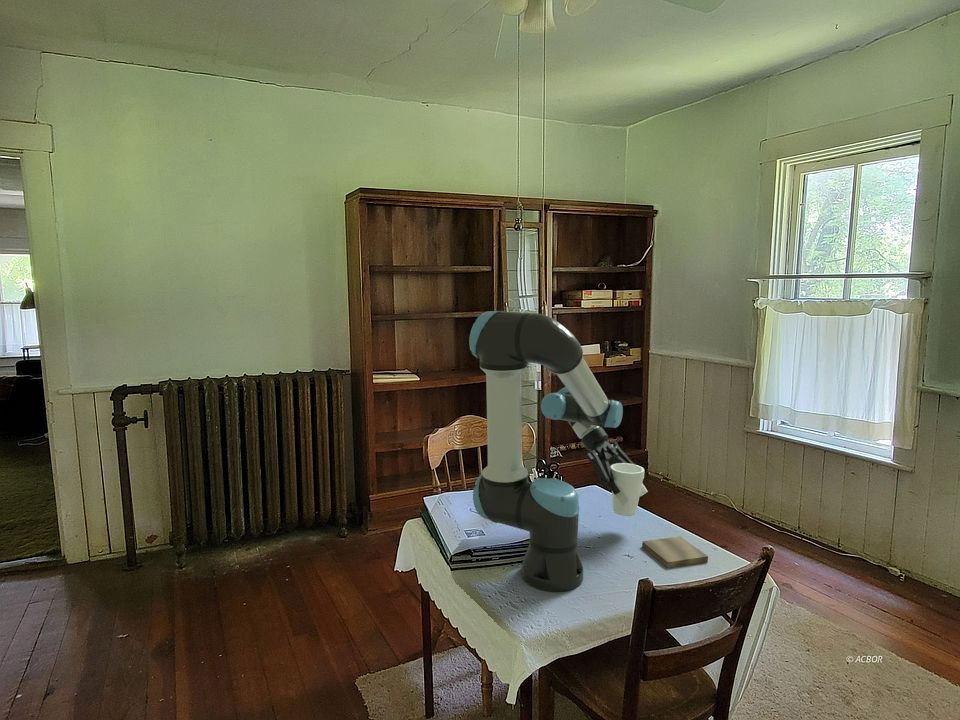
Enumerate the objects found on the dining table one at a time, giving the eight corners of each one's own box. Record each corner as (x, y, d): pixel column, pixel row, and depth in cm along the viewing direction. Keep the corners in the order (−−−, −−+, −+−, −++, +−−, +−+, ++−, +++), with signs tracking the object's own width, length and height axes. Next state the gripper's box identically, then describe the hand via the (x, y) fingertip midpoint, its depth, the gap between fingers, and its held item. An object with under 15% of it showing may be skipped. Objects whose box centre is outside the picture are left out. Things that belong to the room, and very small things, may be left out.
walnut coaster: (667, 567, 153) (667, 562, 153) (642, 546, 164) (642, 541, 164) (707, 561, 156) (708, 556, 156) (680, 541, 168) (680, 536, 167)
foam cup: (644, 518, 168) (647, 474, 166) (611, 517, 168) (614, 473, 166) (636, 505, 178) (639, 463, 176) (605, 504, 178) (607, 462, 176)
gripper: (602, 433, 189) (645, 495, 180) (561, 446, 173) (605, 515, 164) (618, 420, 184) (663, 482, 176) (577, 432, 169) (624, 501, 160)
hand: (635, 498), depth 170 cm, fingers closed on foam cup, 9 cm apart
